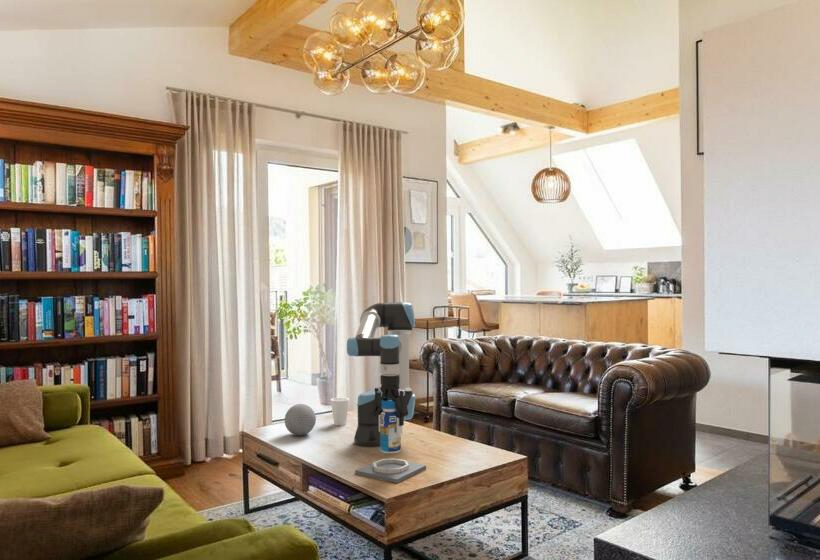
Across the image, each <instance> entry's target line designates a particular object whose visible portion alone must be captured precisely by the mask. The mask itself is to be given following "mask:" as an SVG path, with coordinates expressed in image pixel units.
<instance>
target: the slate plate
mask: <svg viewBox="0 0 820 560" xmlns="http://www.w3.org/2000/svg"><path fill="white" fill-rule="evenodd" d="M426 470H427V465H426V464H421V463H415V462H413V461H412V462H411V461H408V460H405V459H399V458H391V457H387V456H385V457H383V458H381V459H378V460H376V461H373V462H371V463H368V464H366V465H364V466H362V467H359V468H357V469H355V470H354V474H355V475H357V476H362V477H366V478H370V477H371V479H375V478H376V480H379V479H381V480H380V481H384V480H385V482H388V481H390V482H389V483H392V482H394V483H393V484H398V482H399V483H400V481H401V482H403V481H405V480H407V479H409V478H411V477H412V475H413V476H415V475H417V474H419V473H421V472H424V471H426ZM418 472H419V473H418ZM416 473H417V474H416ZM414 474H415V475H414ZM410 476H411V477H410ZM408 477H409V478H408Z"/></svg>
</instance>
